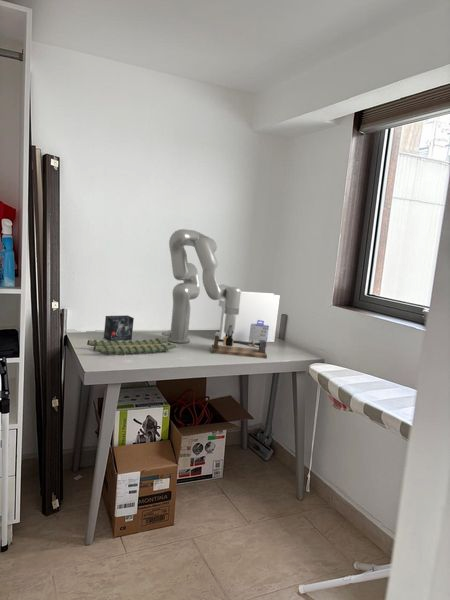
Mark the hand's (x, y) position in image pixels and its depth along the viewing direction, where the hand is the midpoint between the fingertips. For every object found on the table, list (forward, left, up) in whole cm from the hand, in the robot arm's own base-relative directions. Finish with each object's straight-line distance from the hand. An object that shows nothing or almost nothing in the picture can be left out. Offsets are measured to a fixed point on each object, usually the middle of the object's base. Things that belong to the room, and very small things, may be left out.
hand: (228, 343), depth 240 cm
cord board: (+6, 0, -4) cm, 7 cm away
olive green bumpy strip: (-46, -16, -5) cm, 49 cm away
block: (+12, +32, -5) cm, 35 cm away
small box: (-57, +4, -5) cm, 58 cm away
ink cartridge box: (+18, +19, -5) cm, 27 cm away
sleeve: (0, 0, -1) cm, 1 cm away
